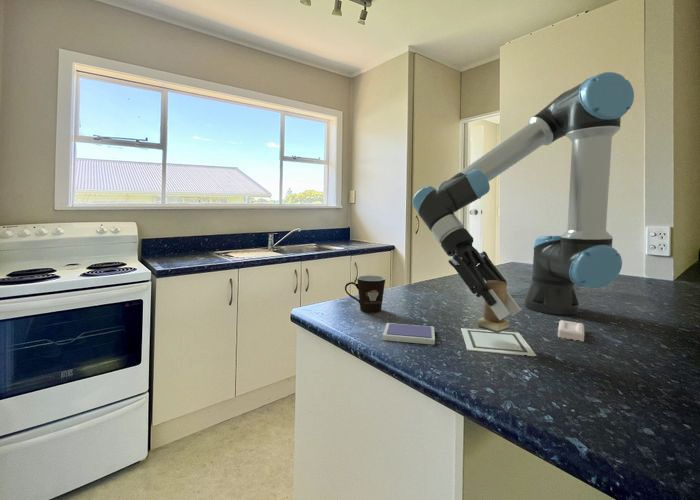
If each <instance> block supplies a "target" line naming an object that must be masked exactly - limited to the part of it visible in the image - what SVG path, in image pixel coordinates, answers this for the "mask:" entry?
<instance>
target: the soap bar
mask: <svg viewBox="0 0 700 500" xmlns="http://www.w3.org/2000/svg"><path fill="white" fill-rule="evenodd" d="M557 336H558V338H559V337H561V339H565V338H566V340H570V339H573V340H572V341H576V340H580V341H579V342H581V341H582V342H584V341H585V324H584V323H581V322H575V321H568V320H563V319H561V320H559V322H558V328H557Z"/></svg>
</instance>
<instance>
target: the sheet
mask: <svg viewBox="0 0 700 500" xmlns="http://www.w3.org/2000/svg"><path fill="white" fill-rule="evenodd" d="M460 330H461V333H462V336H463V339H464V343H465V347H466V350H467V351H469V352H470V351H471V352H472V351H473V352H481V353H482V352H484V353H492V354H503V355H504V354H505V355H513V356H514V355H516V356H524V355H527V357H535V356H537V354H536V353H535V351H533V349H532V348H531V346H530V345H529V344H528V343H527V341H526V340H525V338H524V337H523V336H522V334H520V332H515V331H505V330H504V331H502V332H499V333H496V332H492V331H489V330H486V329H477V328H465V327H464V328H463V327H461V328H460Z"/></svg>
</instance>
